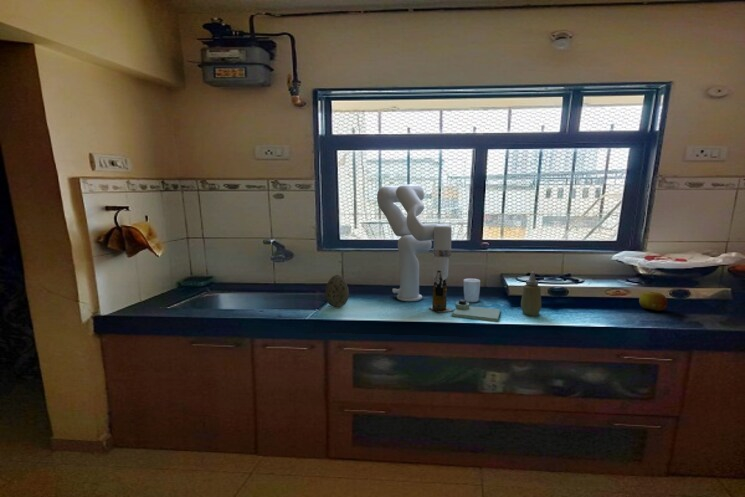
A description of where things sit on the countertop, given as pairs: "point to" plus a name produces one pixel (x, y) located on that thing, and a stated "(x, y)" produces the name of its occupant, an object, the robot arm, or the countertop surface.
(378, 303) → the countertop surface
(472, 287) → the white cup
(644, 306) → the fruit
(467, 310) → the scale
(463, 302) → the tare button
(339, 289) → the decorative egg
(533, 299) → the squeeze bottle
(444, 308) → the condiment
